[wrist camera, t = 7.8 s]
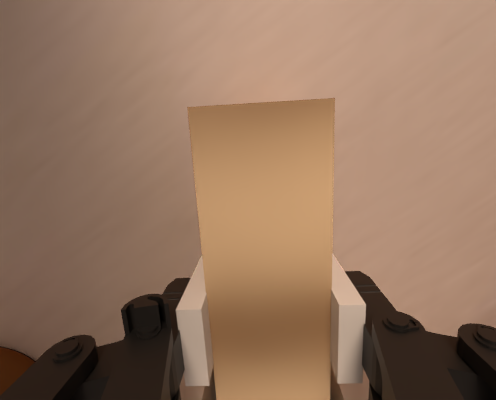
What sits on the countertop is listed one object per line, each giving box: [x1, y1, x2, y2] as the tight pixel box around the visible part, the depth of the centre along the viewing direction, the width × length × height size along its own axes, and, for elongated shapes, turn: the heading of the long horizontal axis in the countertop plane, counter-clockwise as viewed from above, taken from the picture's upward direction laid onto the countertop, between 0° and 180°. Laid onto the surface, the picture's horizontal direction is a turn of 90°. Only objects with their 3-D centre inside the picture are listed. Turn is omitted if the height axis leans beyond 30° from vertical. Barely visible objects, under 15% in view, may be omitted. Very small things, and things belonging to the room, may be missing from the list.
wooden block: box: [187, 98, 335, 400], centre depth 12 cm, size 14×4×6 cm, turn 3°
